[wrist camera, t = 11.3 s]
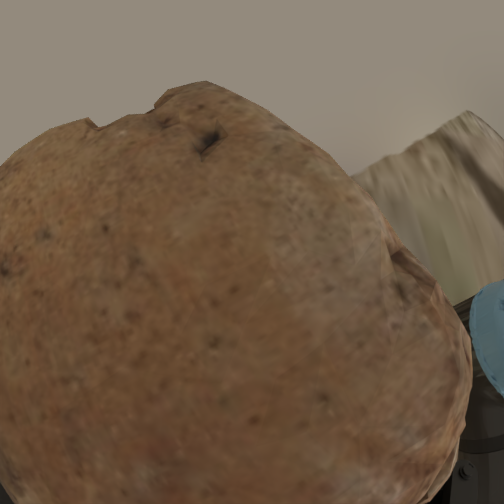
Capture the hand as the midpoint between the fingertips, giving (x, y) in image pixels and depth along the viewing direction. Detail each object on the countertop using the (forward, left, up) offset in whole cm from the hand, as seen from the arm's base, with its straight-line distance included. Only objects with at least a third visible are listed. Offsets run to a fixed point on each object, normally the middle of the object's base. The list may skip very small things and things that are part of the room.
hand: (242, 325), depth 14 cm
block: (0, +3, -8) cm, 9 cm away
